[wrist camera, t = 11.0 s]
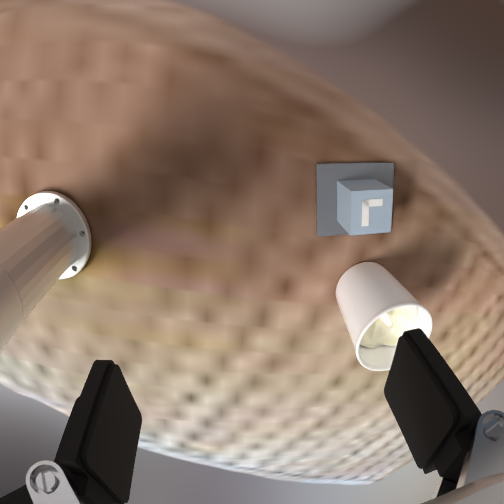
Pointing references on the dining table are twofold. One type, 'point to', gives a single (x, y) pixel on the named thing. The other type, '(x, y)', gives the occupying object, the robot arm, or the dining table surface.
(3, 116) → the dining table surface
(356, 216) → the letter block
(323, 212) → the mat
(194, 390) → the dining table surface
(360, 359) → the candle holder
